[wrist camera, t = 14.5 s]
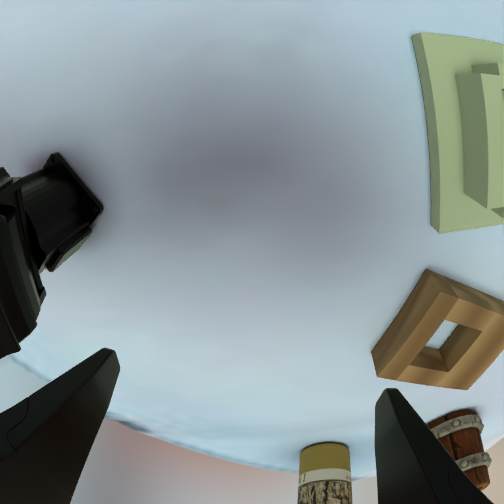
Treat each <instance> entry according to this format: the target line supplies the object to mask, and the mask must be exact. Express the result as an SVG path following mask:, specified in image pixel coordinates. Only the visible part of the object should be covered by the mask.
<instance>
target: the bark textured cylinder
mask: <svg viewBox="0 0 504 504" xmlns="http://www.w3.org/2000/svg"><path fill="white" fill-rule="evenodd" d="M298 504H352V487H351V468H350V453H349V450H348V449H347V448H346V447H345V446H343V445H341V444H336V443H323V444H317V445H313V446H311V447H308V448H306V449H305V450H304V451H303V452H302V453H301V455H300V469H299V487H298Z"/></svg>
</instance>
